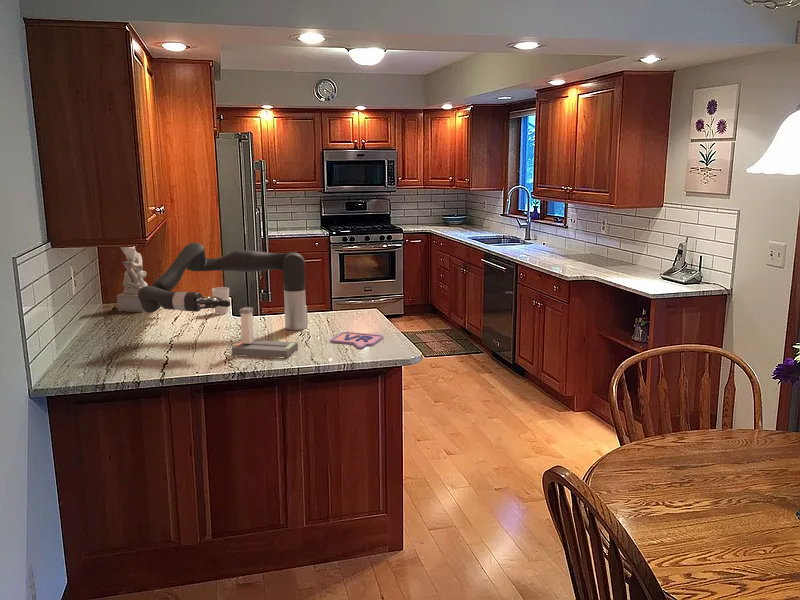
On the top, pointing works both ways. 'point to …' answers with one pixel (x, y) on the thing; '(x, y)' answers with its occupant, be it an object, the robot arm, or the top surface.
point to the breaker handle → (247, 325)
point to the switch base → (265, 348)
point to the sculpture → (131, 282)
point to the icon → (357, 339)
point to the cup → (224, 295)
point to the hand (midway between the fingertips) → (229, 303)
